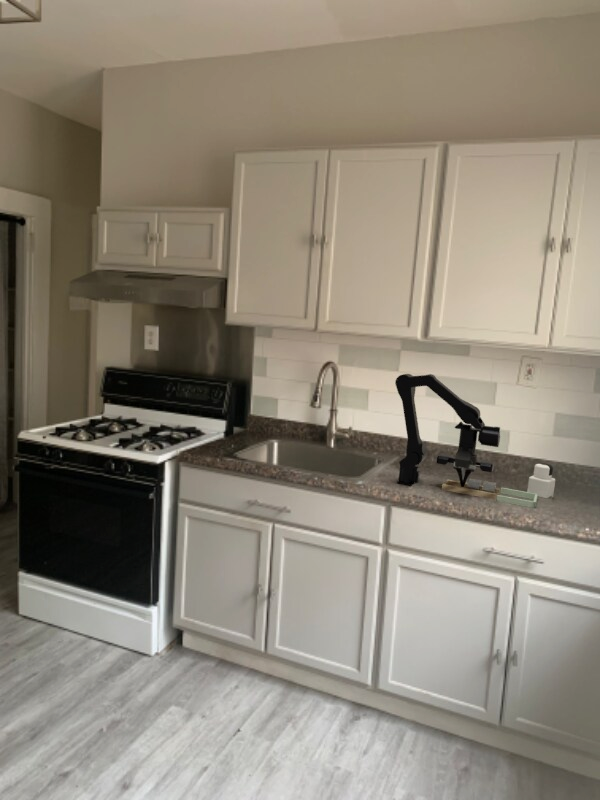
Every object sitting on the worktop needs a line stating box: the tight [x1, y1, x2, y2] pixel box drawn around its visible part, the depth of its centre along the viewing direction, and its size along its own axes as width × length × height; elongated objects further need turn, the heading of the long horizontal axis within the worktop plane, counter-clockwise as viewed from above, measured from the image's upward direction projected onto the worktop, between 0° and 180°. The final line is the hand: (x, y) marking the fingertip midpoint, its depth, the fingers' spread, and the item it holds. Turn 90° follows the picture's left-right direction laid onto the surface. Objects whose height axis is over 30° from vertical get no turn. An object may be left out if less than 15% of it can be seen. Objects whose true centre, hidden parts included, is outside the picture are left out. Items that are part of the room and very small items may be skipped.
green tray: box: [496, 487, 539, 509], centre depth 212 cm, size 12×12×3 cm
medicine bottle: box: [526, 462, 556, 499], centre depth 221 cm, size 7×7×12 cm
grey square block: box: [481, 480, 497, 493], centre depth 215 cm, size 4×4×4 cm
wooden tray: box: [441, 479, 500, 501], centre depth 218 cm, size 18×9×3 cm, turn 66°
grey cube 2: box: [467, 478, 482, 491], centre depth 217 cm, size 4×4×4 cm
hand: (462, 486), depth 219 cm, fingers closed
